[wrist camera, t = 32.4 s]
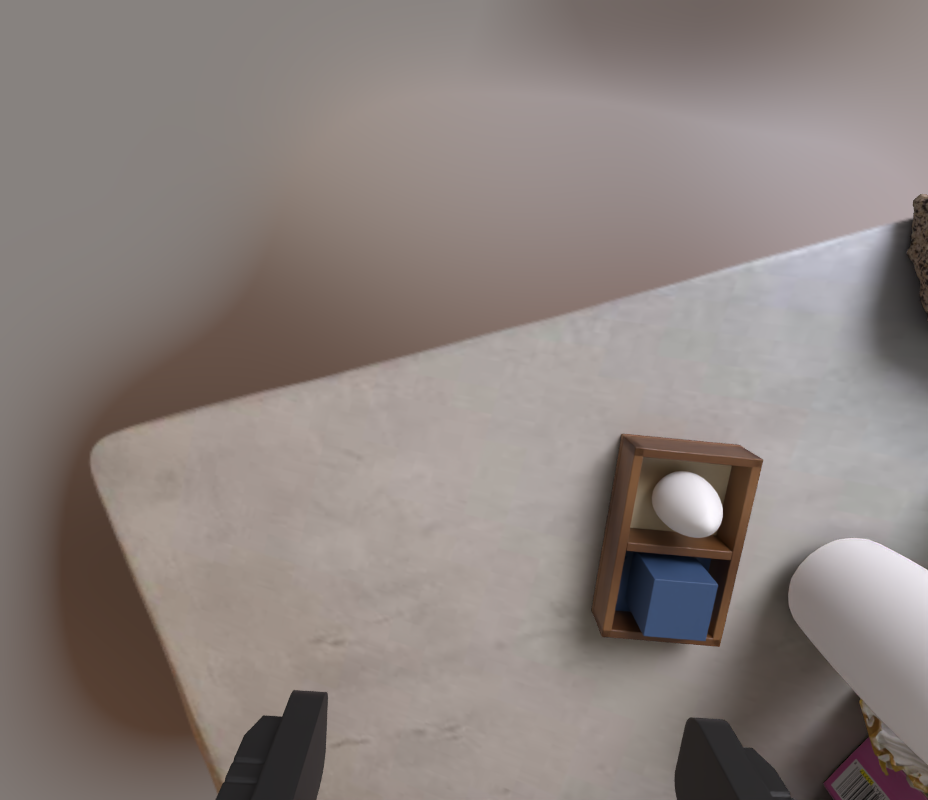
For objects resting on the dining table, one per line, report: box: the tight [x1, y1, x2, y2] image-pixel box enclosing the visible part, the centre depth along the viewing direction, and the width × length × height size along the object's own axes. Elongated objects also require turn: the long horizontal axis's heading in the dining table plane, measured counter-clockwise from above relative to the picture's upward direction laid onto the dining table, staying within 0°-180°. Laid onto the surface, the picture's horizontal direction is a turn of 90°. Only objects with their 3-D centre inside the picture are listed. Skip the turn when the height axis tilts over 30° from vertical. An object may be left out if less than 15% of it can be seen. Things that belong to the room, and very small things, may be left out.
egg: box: [652, 471, 723, 538], centre depth 35 cm, size 4×4×6 cm
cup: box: [788, 538, 928, 765], centre depth 33 cm, size 8×8×14 cm
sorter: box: [591, 434, 763, 647], centre depth 37 cm, size 13×8×3 cm, turn 174°
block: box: [625, 552, 718, 641], centre depth 37 cm, size 4×4×4 cm
